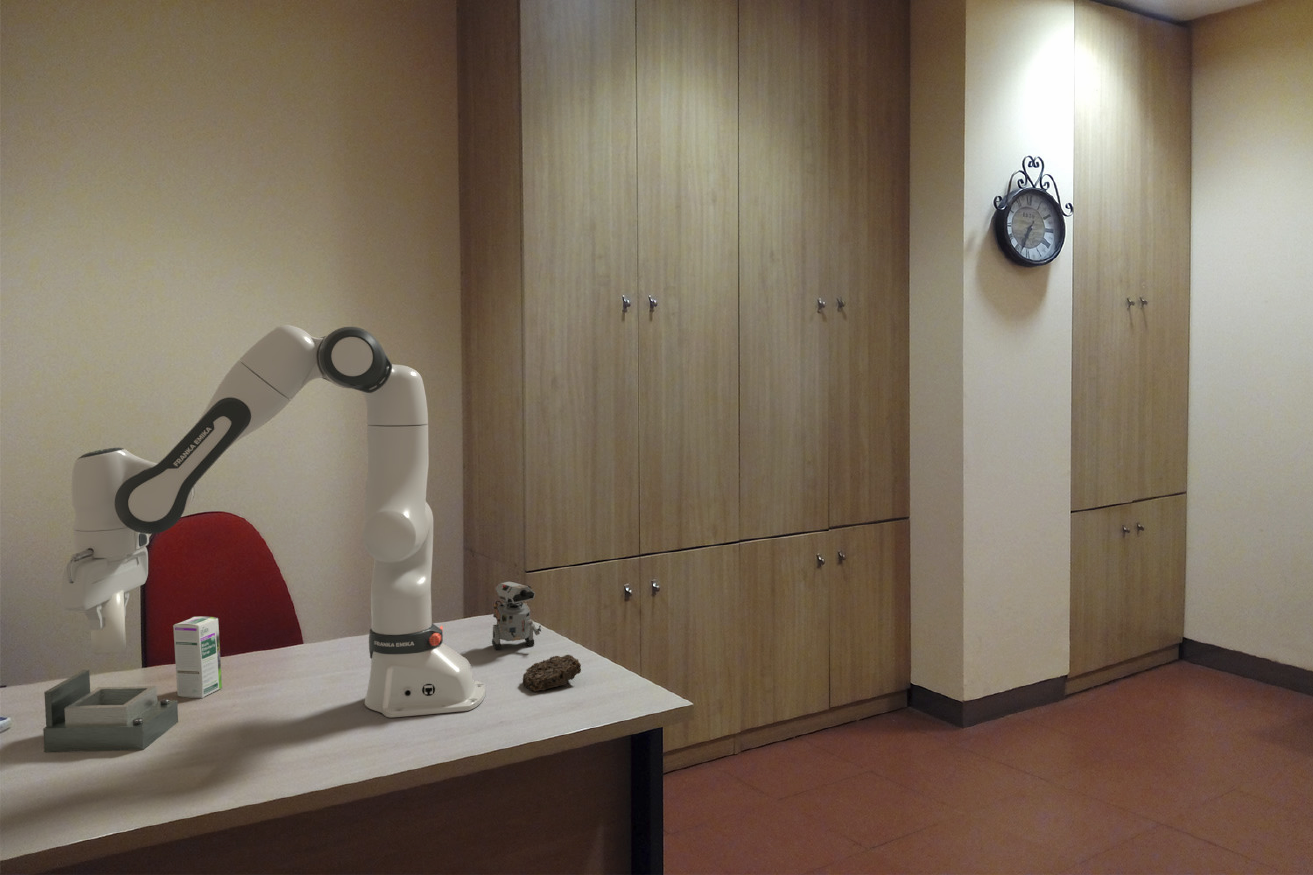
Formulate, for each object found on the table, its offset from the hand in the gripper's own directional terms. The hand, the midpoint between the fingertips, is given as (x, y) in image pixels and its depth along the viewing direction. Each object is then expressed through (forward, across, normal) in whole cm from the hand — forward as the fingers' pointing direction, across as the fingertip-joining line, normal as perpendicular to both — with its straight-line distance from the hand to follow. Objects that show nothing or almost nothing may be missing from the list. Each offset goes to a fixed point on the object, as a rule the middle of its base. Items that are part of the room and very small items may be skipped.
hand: (108, 623), depth 154 cm
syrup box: (+20, +21, -5) cm, 29 cm away
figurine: (+20, +46, -64) cm, 81 cm away
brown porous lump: (+20, +23, -74) cm, 80 cm away
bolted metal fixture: (+20, 0, 0) cm, 20 cm away
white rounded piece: (+5, 0, +1) cm, 5 cm away
